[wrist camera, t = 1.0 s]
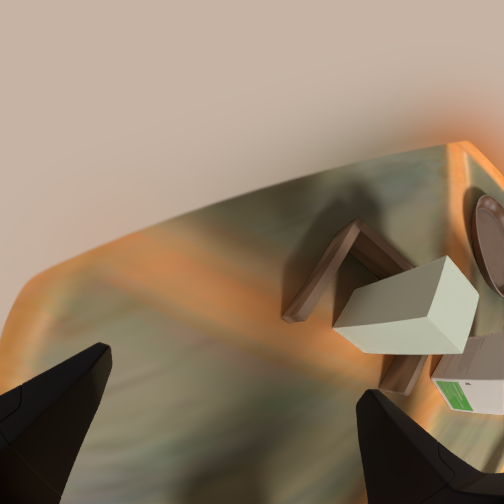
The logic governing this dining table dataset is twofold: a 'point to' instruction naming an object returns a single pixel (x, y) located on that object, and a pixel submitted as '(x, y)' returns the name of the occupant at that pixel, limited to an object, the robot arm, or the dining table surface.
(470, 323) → the sage block
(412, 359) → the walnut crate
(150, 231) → the dining table surface
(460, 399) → the skincare box
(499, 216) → the plant saucer
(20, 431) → the robot arm
